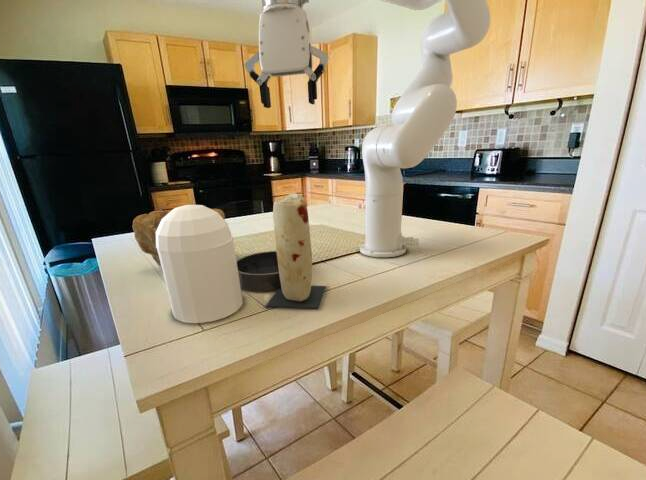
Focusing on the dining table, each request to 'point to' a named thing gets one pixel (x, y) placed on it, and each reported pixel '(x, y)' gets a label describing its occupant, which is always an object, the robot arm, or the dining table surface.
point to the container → (198, 264)
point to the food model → (293, 246)
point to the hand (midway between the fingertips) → (289, 105)
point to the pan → (259, 272)
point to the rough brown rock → (152, 231)
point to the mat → (309, 303)
